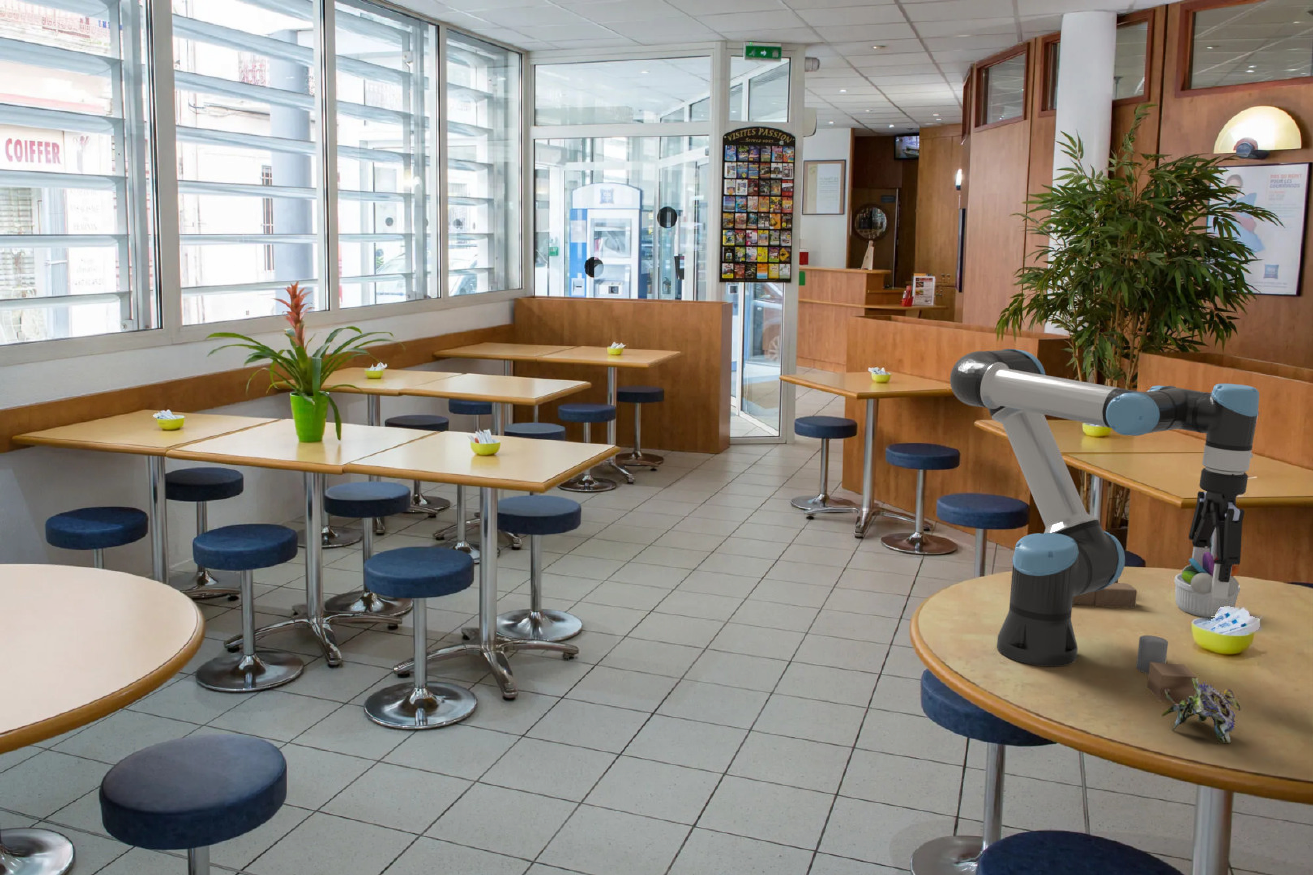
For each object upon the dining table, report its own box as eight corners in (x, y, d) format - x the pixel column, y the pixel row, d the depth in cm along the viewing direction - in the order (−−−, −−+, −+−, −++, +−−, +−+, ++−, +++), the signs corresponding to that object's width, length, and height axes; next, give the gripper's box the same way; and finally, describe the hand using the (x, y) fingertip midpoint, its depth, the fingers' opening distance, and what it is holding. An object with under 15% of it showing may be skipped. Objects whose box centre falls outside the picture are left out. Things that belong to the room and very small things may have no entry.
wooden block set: (1142, 586, 241) (1060, 582, 242) (1139, 610, 242) (1058, 606, 243) (1115, 563, 257) (1039, 560, 258) (1113, 586, 258) (1037, 583, 260)
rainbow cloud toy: (1244, 601, 192) (1250, 562, 191) (1187, 595, 194) (1192, 557, 192) (1228, 585, 200) (1234, 548, 199) (1173, 580, 202) (1179, 543, 200)
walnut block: (1158, 701, 191) (1161, 674, 190) (1147, 687, 197) (1150, 662, 196) (1193, 703, 191) (1196, 677, 190) (1180, 689, 197) (1184, 664, 196)
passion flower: (1219, 771, 177) (1245, 736, 168) (1150, 747, 180) (1172, 712, 171) (1225, 715, 184) (1250, 678, 175) (1158, 693, 187) (1179, 656, 178)
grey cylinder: (1141, 673, 203) (1145, 644, 202) (1132, 663, 208) (1135, 634, 207) (1168, 675, 203) (1172, 645, 202) (1158, 665, 208) (1161, 636, 207)
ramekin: (1246, 622, 234) (1249, 592, 233) (1182, 618, 236) (1185, 588, 235) (1224, 603, 247) (1227, 574, 245) (1164, 599, 249) (1167, 570, 247)
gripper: (1275, 485, 182) (1255, 610, 186) (1220, 458, 203) (1203, 571, 207) (1230, 482, 182) (1211, 607, 187) (1179, 456, 203) (1164, 569, 208)
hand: (1207, 588), depth 197 cm, fingers closed on rainbow cloud toy, 9 cm apart
